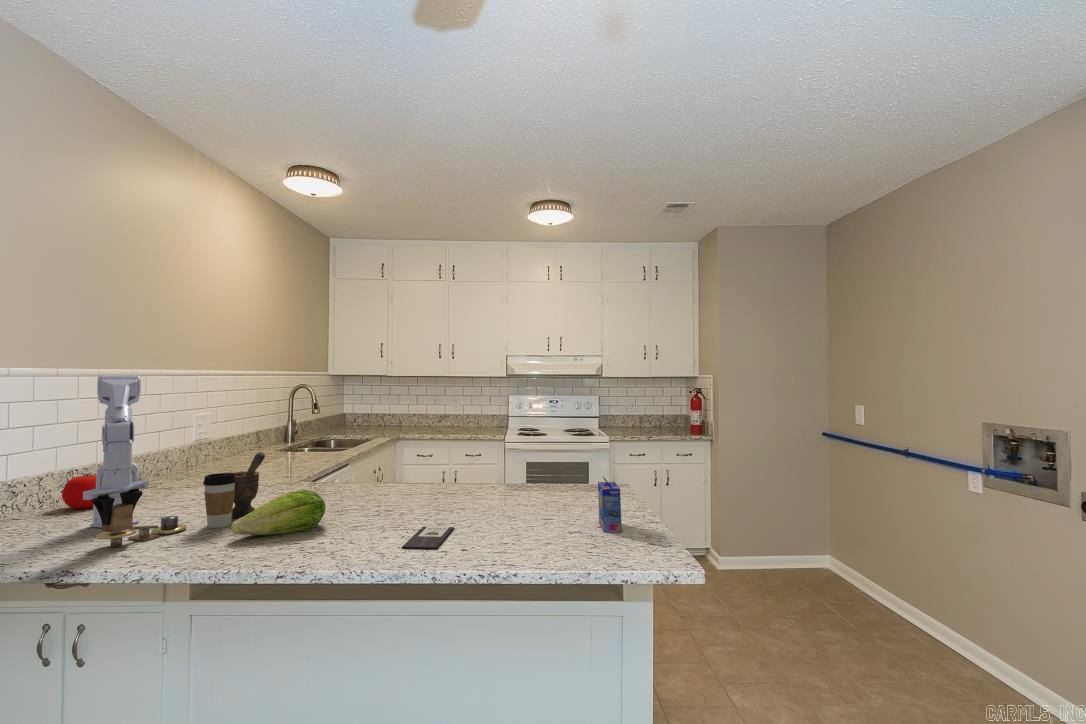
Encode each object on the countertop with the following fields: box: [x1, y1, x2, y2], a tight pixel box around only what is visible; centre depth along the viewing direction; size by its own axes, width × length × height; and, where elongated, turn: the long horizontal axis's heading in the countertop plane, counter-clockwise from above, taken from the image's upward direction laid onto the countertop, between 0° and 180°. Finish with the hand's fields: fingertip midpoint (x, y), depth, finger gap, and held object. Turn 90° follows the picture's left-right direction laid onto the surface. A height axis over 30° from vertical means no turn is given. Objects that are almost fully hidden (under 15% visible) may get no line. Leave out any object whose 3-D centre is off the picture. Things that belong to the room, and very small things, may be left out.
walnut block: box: [101, 503, 134, 533], centre depth 137 cm, size 4×4×6 cm
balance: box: [95, 515, 187, 549], centre depth 144 cm, size 8×22×4 cm, turn 162°
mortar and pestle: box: [232, 451, 266, 519], centre depth 168 cm, size 12×9×20 cm
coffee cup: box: [202, 472, 236, 529], centre depth 157 cm, size 8×8×15 cm
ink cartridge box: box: [597, 476, 623, 533], centre depth 154 cm, size 10×6×14 cm, turn 2°
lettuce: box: [230, 489, 326, 536], centre depth 150 cm, size 12×24×13 cm
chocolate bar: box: [401, 526, 455, 551], centre depth 144 cm, size 9×1×18 cm
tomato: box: [61, 473, 102, 510], centre depth 179 cm, size 12×13×11 cm
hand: (116, 522), depth 137 cm, fingers closed on walnut block, 4 cm apart
